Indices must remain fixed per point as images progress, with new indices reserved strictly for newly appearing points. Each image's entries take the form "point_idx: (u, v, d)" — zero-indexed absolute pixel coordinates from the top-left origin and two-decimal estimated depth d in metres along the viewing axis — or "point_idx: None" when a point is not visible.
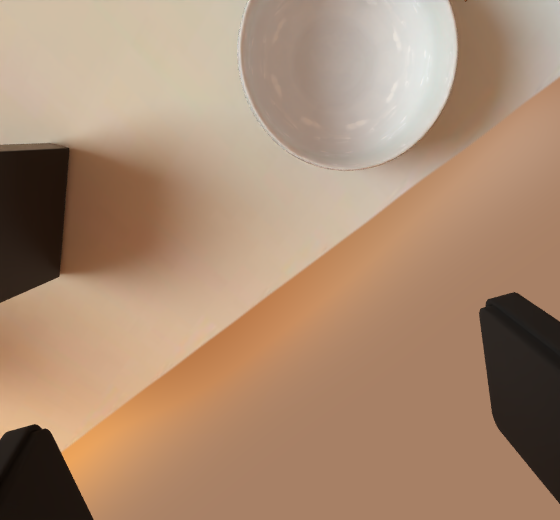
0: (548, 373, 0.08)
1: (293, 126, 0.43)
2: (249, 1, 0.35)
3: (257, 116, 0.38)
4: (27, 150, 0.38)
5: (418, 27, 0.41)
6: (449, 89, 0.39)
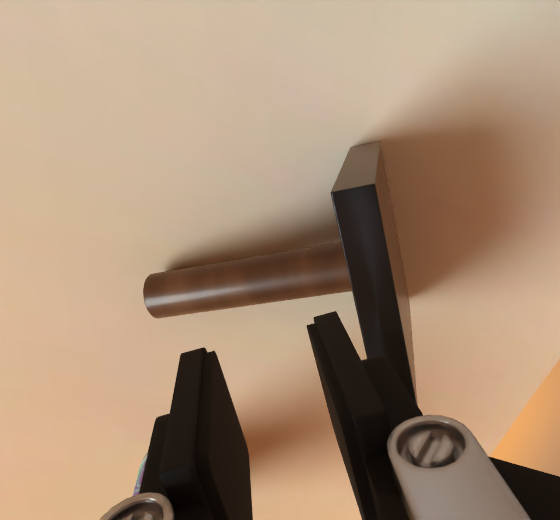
0: (326, 386, 0.09)
1: None
2: None
3: None
4: (377, 156, 0.28)
5: None
6: None
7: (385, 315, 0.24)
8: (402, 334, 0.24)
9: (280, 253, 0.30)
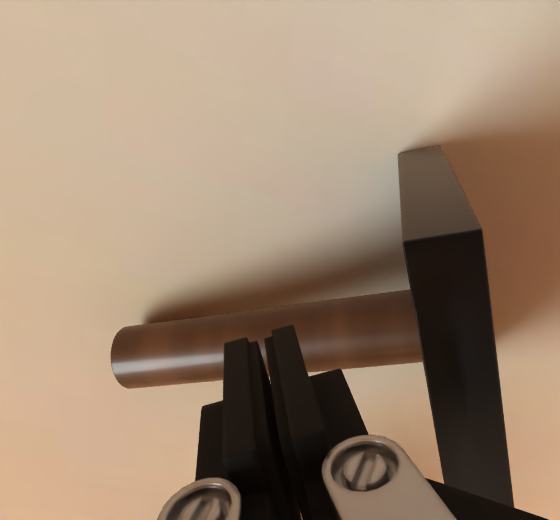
0: None
1: None
2: None
3: None
4: None
5: None
6: None
7: (481, 432, 0.15)
8: (506, 461, 0.15)
9: (303, 306, 0.21)
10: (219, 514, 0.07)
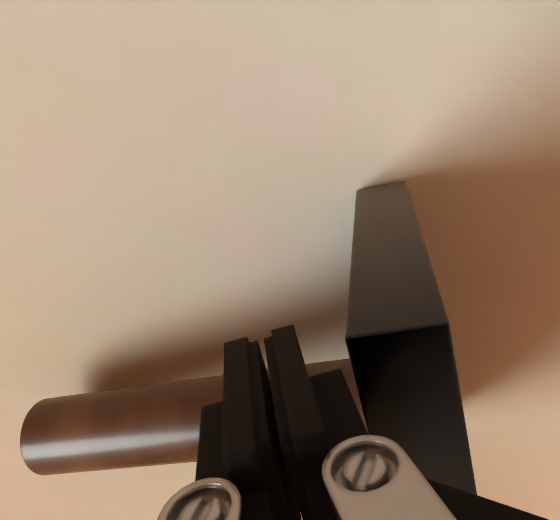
0: None
1: None
2: None
3: None
4: None
5: None
6: None
7: None
8: None
9: None
10: (219, 514, 0.07)
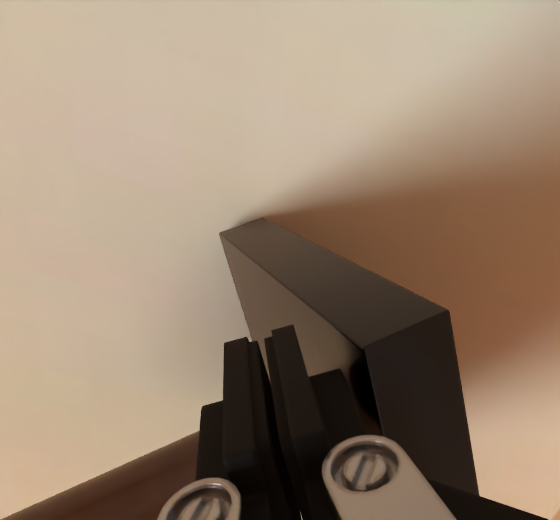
0: None
1: None
2: None
3: None
4: (311, 244, 0.16)
5: None
6: None
7: None
8: None
9: (157, 458, 0.15)
10: (219, 514, 0.07)
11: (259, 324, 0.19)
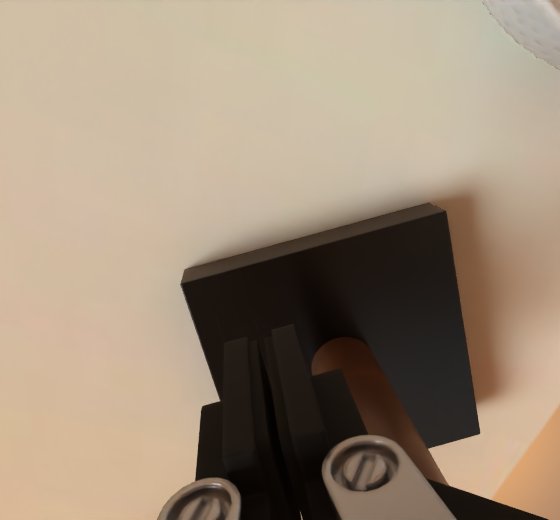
0: None
1: None
2: None
3: None
4: (291, 241, 0.23)
5: None
6: None
7: None
8: None
9: (361, 395, 0.18)
10: (219, 514, 0.07)
11: (261, 330, 0.23)
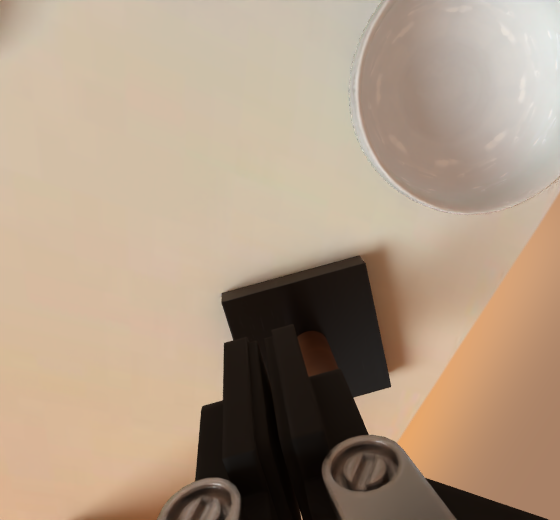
0: None
1: (432, 176, 0.38)
2: (357, 86, 0.31)
3: (408, 195, 0.34)
4: (281, 277, 0.42)
5: (531, 10, 0.35)
6: None
7: None
8: None
9: (315, 359, 0.37)
10: (219, 514, 0.07)
11: (265, 327, 0.41)
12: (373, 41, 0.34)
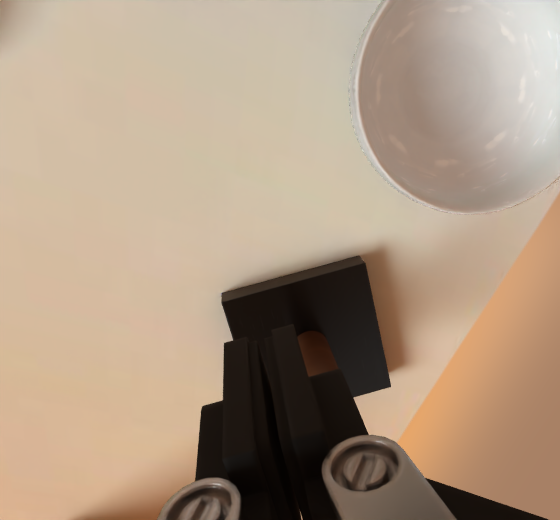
0: None
1: (432, 176, 0.38)
2: (357, 86, 0.31)
3: (408, 195, 0.34)
4: (281, 277, 0.42)
5: (531, 10, 0.35)
6: None
7: None
8: None
9: (315, 359, 0.37)
10: (219, 514, 0.07)
11: (265, 327, 0.41)
12: (373, 41, 0.34)
